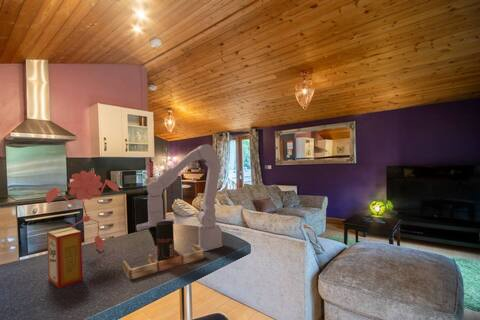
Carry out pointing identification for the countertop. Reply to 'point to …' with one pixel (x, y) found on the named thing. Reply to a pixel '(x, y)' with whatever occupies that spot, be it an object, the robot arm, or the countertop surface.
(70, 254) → the baking soda box
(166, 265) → the bay rack
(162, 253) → the deodorant
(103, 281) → the countertop surface
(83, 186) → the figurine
